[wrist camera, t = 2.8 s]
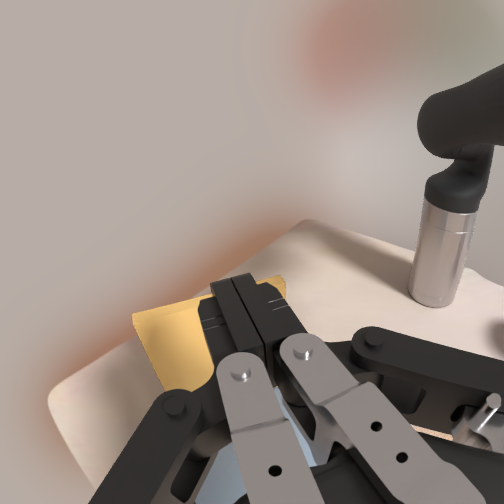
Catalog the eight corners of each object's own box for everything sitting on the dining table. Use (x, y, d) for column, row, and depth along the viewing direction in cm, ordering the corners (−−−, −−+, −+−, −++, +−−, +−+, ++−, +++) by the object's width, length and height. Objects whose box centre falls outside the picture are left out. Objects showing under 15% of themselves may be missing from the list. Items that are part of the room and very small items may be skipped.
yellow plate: (295, 375, 34) (296, 279, 27) (168, 413, 31) (121, 326, 23) (290, 366, 35) (288, 269, 28) (165, 402, 32) (121, 313, 25)
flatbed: (347, 475, 26) (354, 462, 24) (198, 524, 22) (186, 518, 20) (302, 397, 36) (303, 377, 34) (174, 436, 32) (163, 419, 30)
